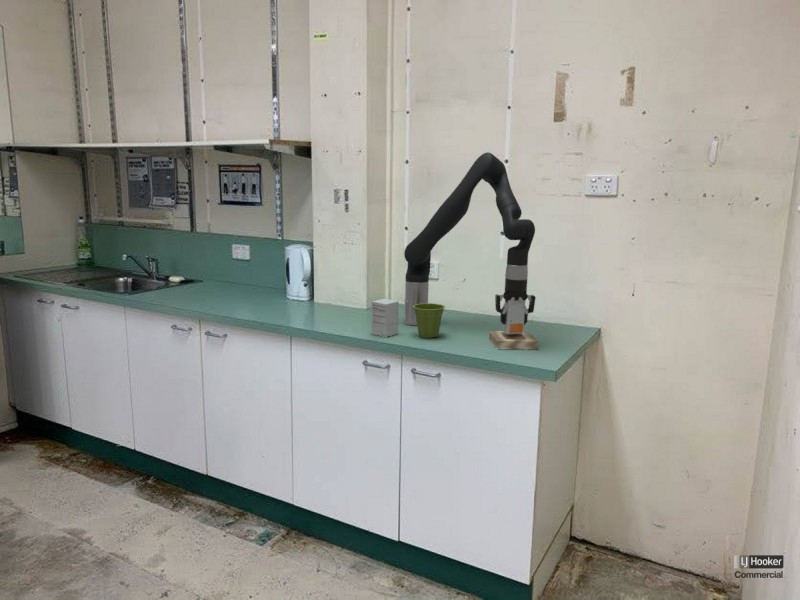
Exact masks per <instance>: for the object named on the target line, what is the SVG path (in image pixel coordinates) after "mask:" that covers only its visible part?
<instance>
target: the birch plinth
mask: <svg viewBox="0 0 800 600" xmlns="http://www.w3.org/2000/svg"><path fill="white" fill-rule="evenodd" d="M488 332H489V334H488V335H489V336H488V337H489V338H488V339H489V341H490V340H491V341H492V342H491V341H490V342H491V344H492V345H493V344H494V345H495V346H496V347H497V348H505V349H538V348H539V340H537V338H535V337H534V336H533V335H532V334H531V333H530V332H529V331H528V330H523V334H507V333H505V332H503V330H489V331H488ZM494 345H493V346H494ZM495 346H494V347H495ZM496 347H495V348H496ZM538 350H539V349H538Z"/></svg>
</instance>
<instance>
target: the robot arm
mask: <svg viewBox="0 0 800 600" xmlns="http://www.w3.org/2000/svg"><path fill="white" fill-rule="evenodd" d="M481 180H483V181H484V182H485V183H488V185H490V187H491V188H492V190H493V191H494V193H495V203H496V207H497V209H498V212H499V214H500V216H501V220H502V230H503V235H504V236H505V238H506V239H508V240H509V241H519V242H518V244H516V245H514V246H511V247H509V248H508V250H507V255H506V257H507V258H506V268H505V274H504V276H505V278H504V292H503V294H495V295H494V299H495V310H496V312H497V313H500V320H499V321H500V323H501V324H502V325H504V324H505V320H506V314H505V313H506V311H507V310H508V307H509V306H508V305H509V302H508V300H510V301H514V300H519V301H520V302H522V303H523V304H522V308H523V309H524V308H525V314H524V326H525V325H526V324H528V317H529V314H531V313H534V311H535V306H536V296H535V295H534V294H528V279H529V278H528V276H529V275H528V274H529V268H528V267H529V266H528V264H529V263H528V262H529V252H530V248H531V246H532V243H533V240H534V237H535V234H536V227H535V224H534V222H533V221H532V220H531V219H525V218H523V219H521V217H522V208H521V207H520V204H519V202H518V200H517V198H516V196H515V194H514V192H513V189H512V187H511V184H510V180H509V177H508V173H507V168H506V166H505V164H504V163H503V162H502V161H501V160H500V159H499V158H498V157H497V156H495V155H494V154H493V153H492V152H485V153H482V154H481V155H479V156H478V158H477V159H475V161H474V162H473V164H472V165H471V166H470V168H469V170H468V171H467V172H466V174H465V176H464V177H463V178H462V180H461V181H460V183H458V185H457V186H456V187H455V189H454V190H453V191H452V192H451V194H450V195H449V196H448V197H447V198H446V199H445V200H444V201H443V203H442V204H441V205H440V206H439V208H438V209H437V210H436V211H435V213H434V214H433V216H432V217H431V218H430V220H429V221H428V223H427V224H426V226H425V227H424V228H423V229H422V230H421V232H420V233H419V234H417V236H416V237H415V238H414V239H412V241H410V242H409V243H408V244H407V245H406V247H405V248H404V258H405V260H406V262H407V269H406V273H405V285H404V286H405V287H404V288H405V290H404V292H405V294H404V312H403V313H404V314H403V315H404V316H403V318H404V319H403V320H404V325H409V326H417V319H416V314H415V310H414V308H413V305H416V304H424V303H429V286H430V285H429V282H430V280H429V279H430V278H429V277H430V273H431V262H432V261H431V257H432V254H431V253H432V250H433V248H434V247H435V246H436V245H437V243H438V242H439V241H441V239H443V238H444V237H445V236H446V235H447V234H448V233H450V231H451V230H452V229H454V228H455V226H456V225H458V224H459V223H460V221H461V220H462V219H463V217H464V216H465V215H466V214H467V212H468V210H469V208H470V204H471V199H472V195H473V192H474V190H475V189H476V187H478V184H480V182H481ZM503 299H504V304H503V306H502V307H501V301H503ZM527 299H528V301H529V303H528V308H527V306H526V303H525V304H524V302H523V300H525V301H527ZM505 301H506V302H507V305H505ZM523 305H524V306H523Z"/></svg>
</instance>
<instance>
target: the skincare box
mask: <svg viewBox="0 0 800 600" xmlns="http://www.w3.org/2000/svg"><path fill="white" fill-rule="evenodd" d="M508 302H509V305H508V306H509V307H508V310H507V311H506V313H505V314H506V320H505V324H502V325H503V326H502V327H503V328H502V329H503V330H502V331H503V332H505V333H507V334H523V331H524V328H525V325H524V314H525V308H524V309H523V308H522V304H523V303H522V302H520V301H519V300H514V301H510V300H508ZM523 302H524V304H525V305H526V300H523ZM504 303H505V305H507V302H506V301H505V300H504ZM523 306H524V305H523Z"/></svg>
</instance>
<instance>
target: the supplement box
mask: <svg viewBox="0 0 800 600" xmlns="http://www.w3.org/2000/svg"><path fill="white" fill-rule="evenodd" d="M399 304H400V303H399V301H398V300H394V299H389V298H382V299H377V300H374V301H373V300H372V301H371V335H373V334H375V335H374V336H377V335H379V336H378V337H381V336H384V337H383V338H388V336H389V337H392V335H393V336H396V335H398V334H399ZM395 334H396V335H395Z"/></svg>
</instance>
